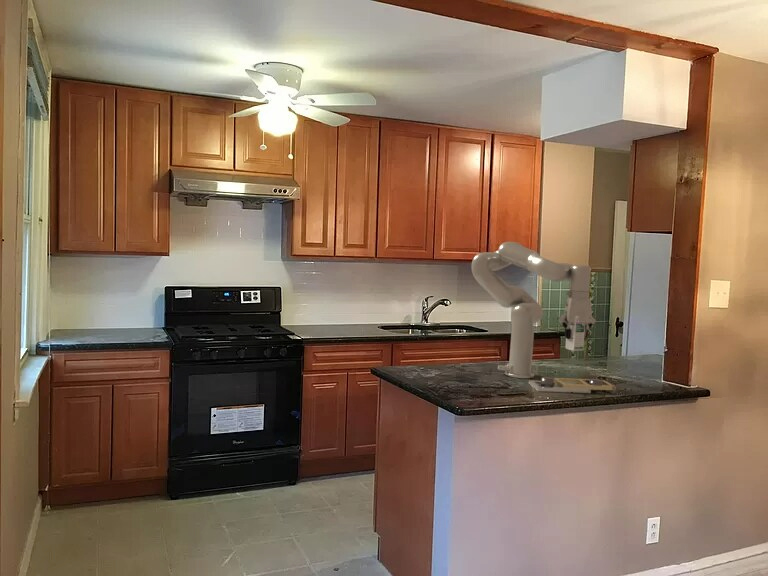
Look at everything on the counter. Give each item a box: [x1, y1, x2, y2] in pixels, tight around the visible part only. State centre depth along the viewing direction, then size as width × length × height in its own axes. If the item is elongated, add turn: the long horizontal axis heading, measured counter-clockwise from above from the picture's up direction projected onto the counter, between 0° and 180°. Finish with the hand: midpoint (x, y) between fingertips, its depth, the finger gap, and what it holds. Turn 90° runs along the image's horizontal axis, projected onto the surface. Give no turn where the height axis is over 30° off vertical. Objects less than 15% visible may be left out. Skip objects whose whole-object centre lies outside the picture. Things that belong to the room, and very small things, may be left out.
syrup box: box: [565, 316, 587, 352], centre depth 253 cm, size 6×6×14 cm
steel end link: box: [528, 376, 592, 394], centre depth 248 cm, size 21×11×4 cm, turn 94°
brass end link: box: [553, 377, 617, 395], centre depth 249 cm, size 21×11×4 cm, turn 94°
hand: (575, 338), depth 253 cm, fingers closed on syrup box, 6 cm apart
